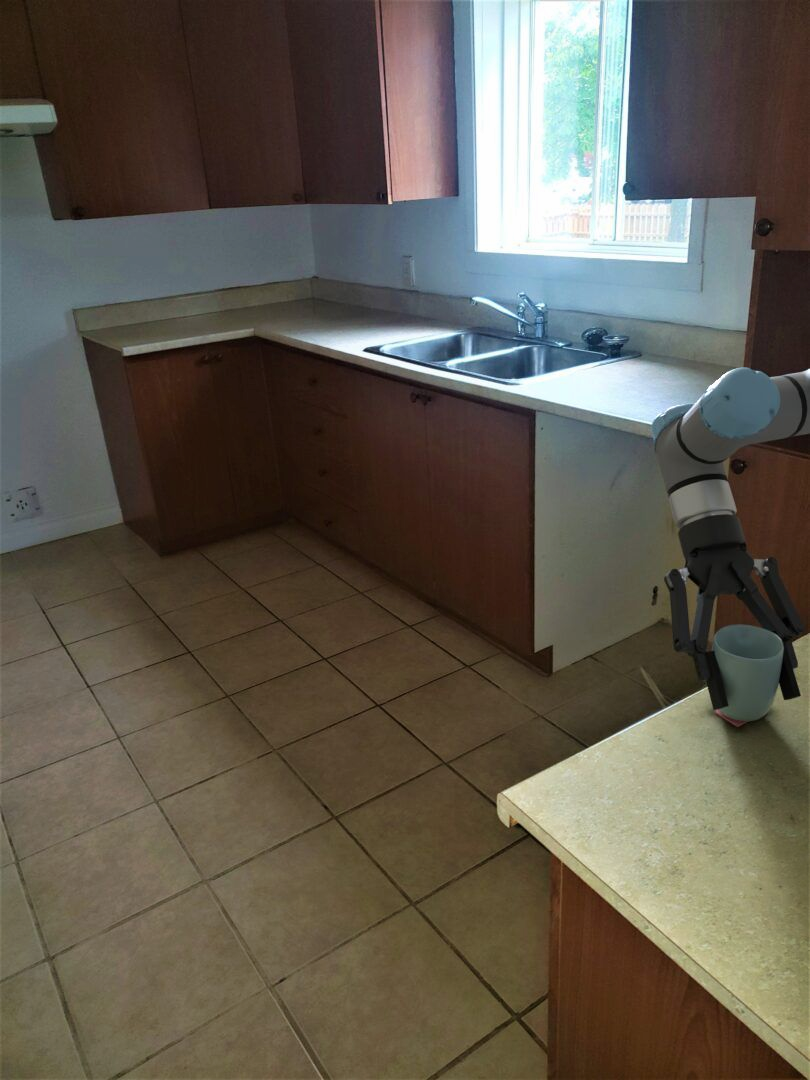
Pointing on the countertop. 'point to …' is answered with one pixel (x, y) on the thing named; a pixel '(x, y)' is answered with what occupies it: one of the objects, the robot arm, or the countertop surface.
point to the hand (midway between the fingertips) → (756, 702)
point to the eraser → (735, 722)
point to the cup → (748, 669)
